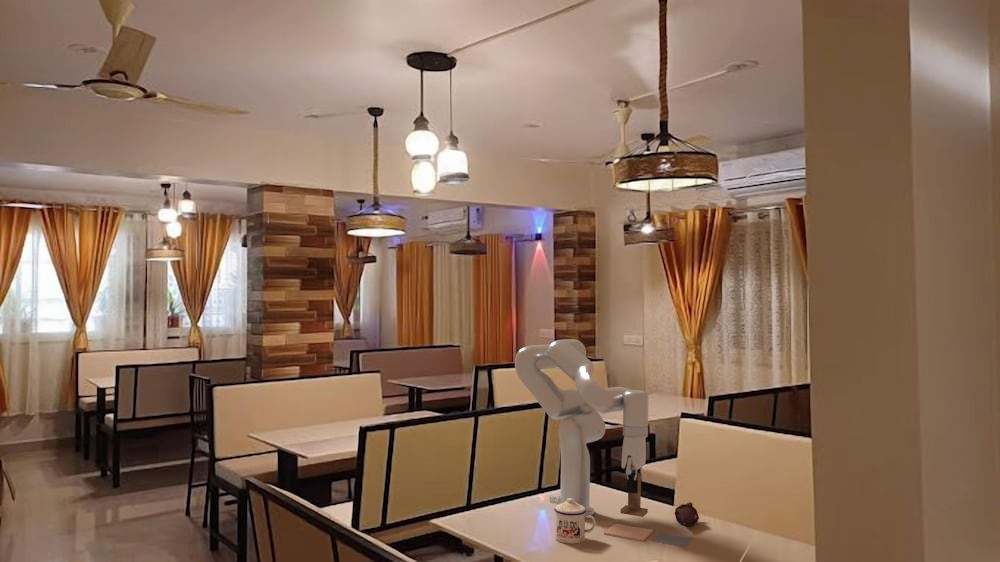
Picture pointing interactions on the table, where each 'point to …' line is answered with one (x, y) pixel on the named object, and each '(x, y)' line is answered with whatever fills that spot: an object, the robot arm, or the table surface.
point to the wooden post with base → (635, 502)
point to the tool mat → (672, 539)
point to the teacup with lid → (571, 522)
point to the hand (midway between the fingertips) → (634, 490)
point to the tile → (628, 532)
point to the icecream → (686, 514)
